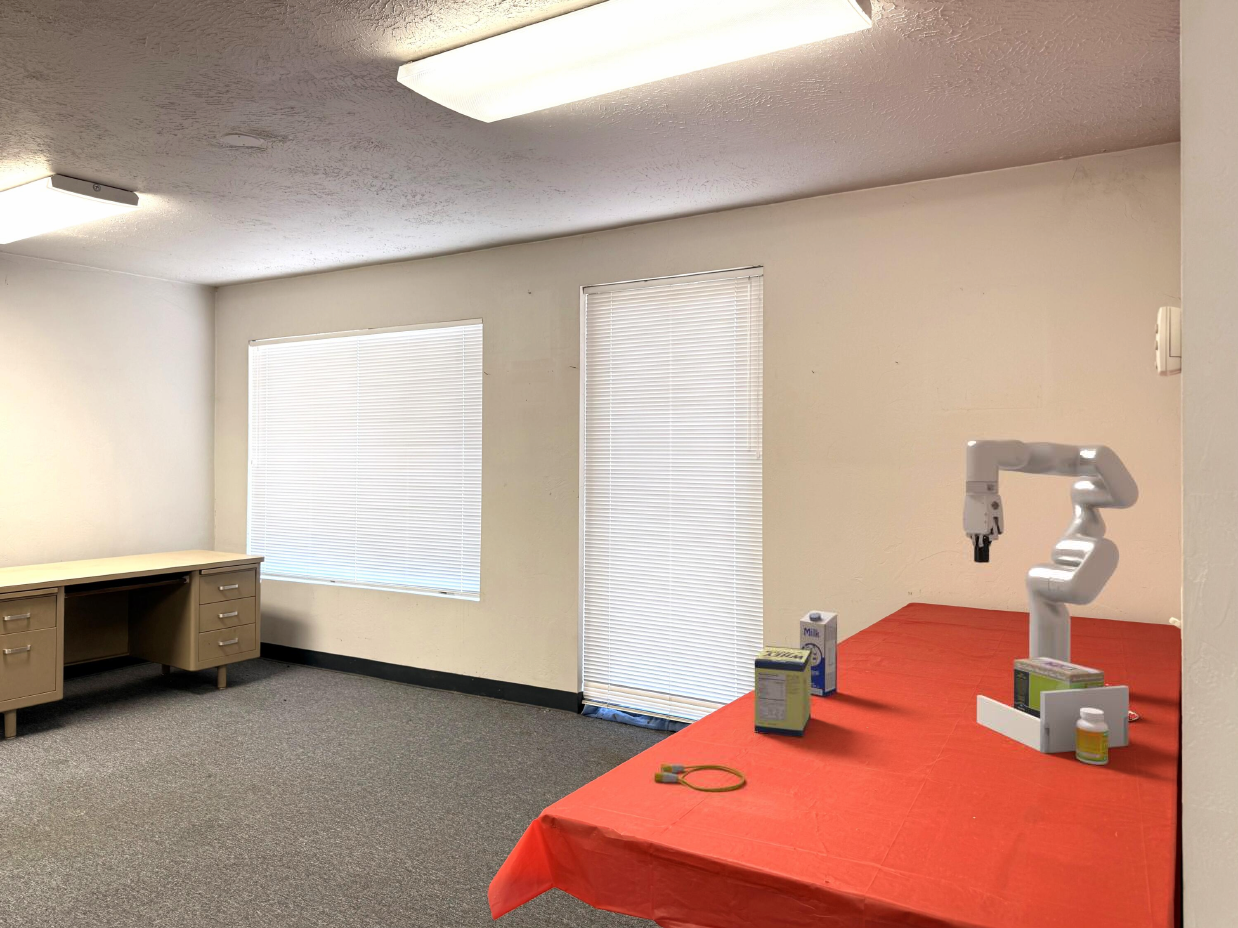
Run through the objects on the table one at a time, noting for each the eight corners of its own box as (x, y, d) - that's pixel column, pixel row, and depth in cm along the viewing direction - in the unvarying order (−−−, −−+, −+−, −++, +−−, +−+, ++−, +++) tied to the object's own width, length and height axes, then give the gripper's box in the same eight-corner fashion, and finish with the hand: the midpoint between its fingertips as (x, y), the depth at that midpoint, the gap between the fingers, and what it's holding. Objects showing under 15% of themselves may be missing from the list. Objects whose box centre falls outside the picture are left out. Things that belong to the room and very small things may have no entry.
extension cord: (678, 761, 159) (678, 751, 159) (754, 778, 151) (754, 767, 151) (646, 782, 149) (647, 771, 149) (727, 802, 140) (727, 790, 140)
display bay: (1053, 716, 188) (1054, 663, 188) (1128, 745, 168) (1128, 686, 168) (976, 722, 183) (977, 668, 183) (1044, 753, 163) (1044, 693, 163)
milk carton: (837, 691, 207) (838, 612, 207) (824, 697, 202) (824, 616, 202) (812, 686, 212) (812, 609, 212) (798, 691, 207) (799, 612, 207)
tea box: (1106, 741, 171) (1106, 670, 171) (1069, 747, 167) (1070, 674, 167) (1046, 720, 185) (1046, 654, 185) (1011, 725, 182) (1011, 658, 182)
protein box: (811, 717, 186) (811, 648, 186) (803, 738, 172) (803, 664, 172) (765, 712, 190) (765, 644, 190) (753, 732, 175) (753, 659, 175)
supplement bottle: (1107, 767, 156) (1107, 716, 156) (1075, 761, 159) (1075, 711, 159) (1108, 758, 161) (1108, 709, 161) (1076, 753, 164) (1077, 704, 164)
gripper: (1016, 490, 200) (1015, 565, 200) (975, 488, 214) (974, 558, 214) (989, 490, 198) (989, 566, 198) (950, 488, 212) (949, 559, 212)
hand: (981, 562), depth 206 cm, fingers closed
